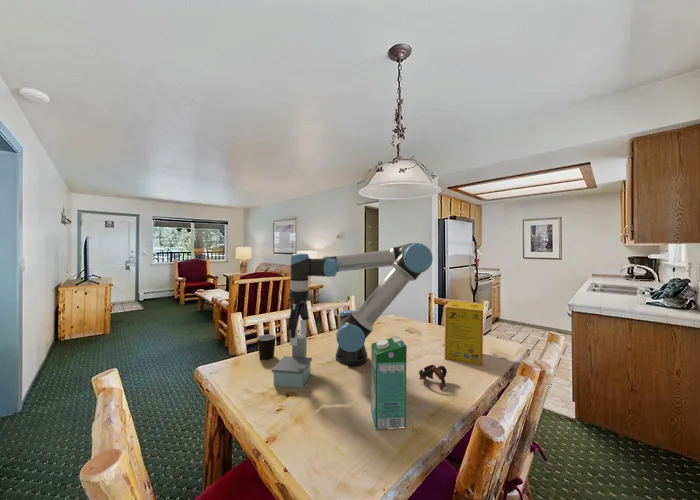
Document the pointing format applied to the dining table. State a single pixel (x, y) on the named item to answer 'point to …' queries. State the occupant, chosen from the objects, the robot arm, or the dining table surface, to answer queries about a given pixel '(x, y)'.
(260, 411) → the dining table surface
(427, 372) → the brown curved piece
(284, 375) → the tub
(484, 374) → the dining table surface
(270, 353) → the coffee mug
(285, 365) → the bookend
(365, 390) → the dining table surface
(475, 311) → the packaging box
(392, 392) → the milk carton
